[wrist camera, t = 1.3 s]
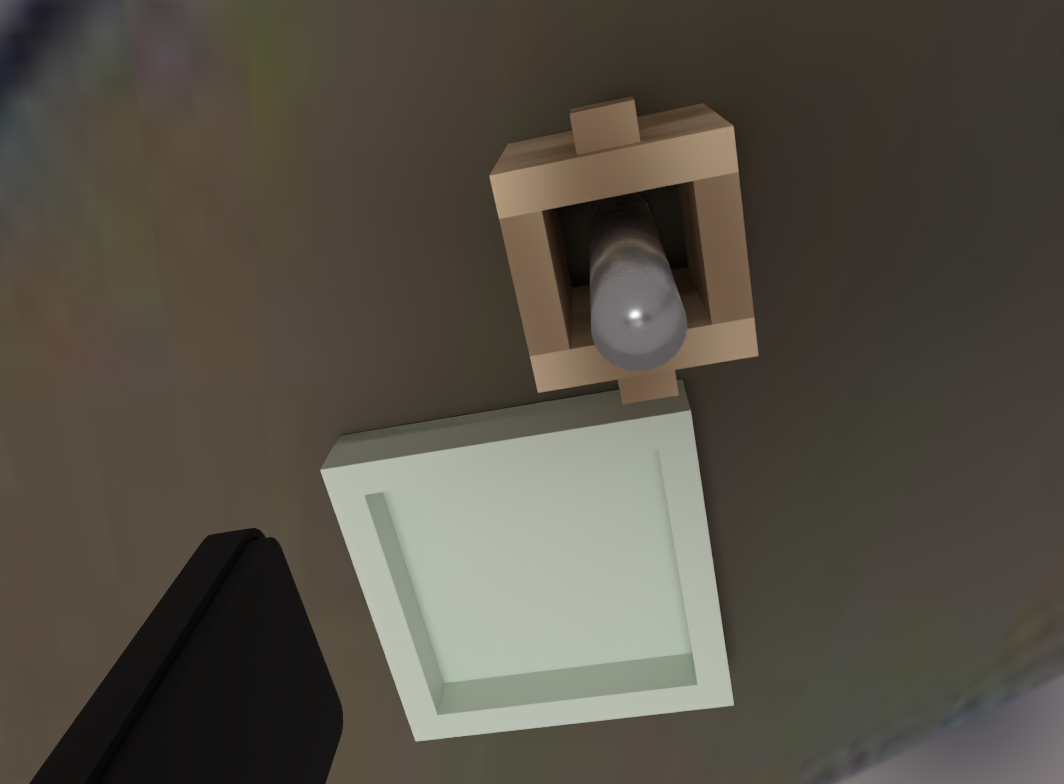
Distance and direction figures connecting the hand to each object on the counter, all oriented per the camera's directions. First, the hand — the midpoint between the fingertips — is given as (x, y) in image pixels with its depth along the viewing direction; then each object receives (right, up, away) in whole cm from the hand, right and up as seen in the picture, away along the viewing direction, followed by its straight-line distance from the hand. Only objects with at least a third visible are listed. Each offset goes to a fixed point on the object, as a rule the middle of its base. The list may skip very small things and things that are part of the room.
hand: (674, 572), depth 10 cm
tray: (-1, -4, +22) cm, 23 cm away
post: (+1, +8, +17) cm, 19 cm away
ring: (+1, +8, +17) cm, 19 cm away
